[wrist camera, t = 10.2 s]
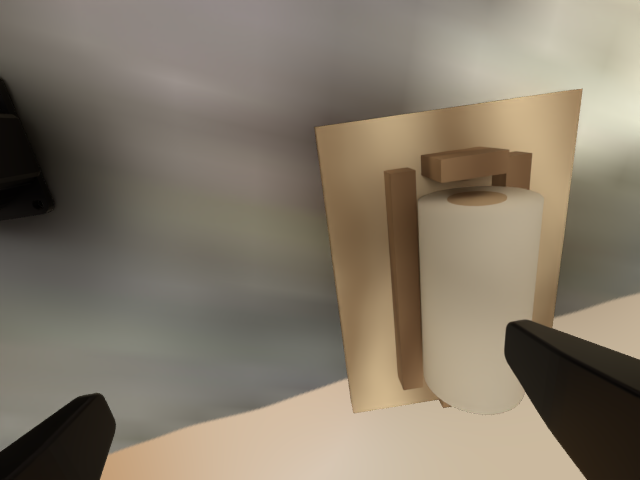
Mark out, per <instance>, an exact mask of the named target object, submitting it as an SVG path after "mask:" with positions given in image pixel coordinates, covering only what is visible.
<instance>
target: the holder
mask: <svg viewBox="0 0 640 480" xmlns="http://www.w3.org/2000/svg"><path fill="white" fill-rule="evenodd" d="M581 97H582V89H577V90H569V91H562V92H555V93H548V94H541V95H534V96H527V97H520V98H513V99H506V100H499V101H492V102H485V103H478V104H472V105H465V106H458V107H451V108H444V109H437V110H430V111H423V112H416V113H409V114H402V115H395V116H389V117H382V118H375V119H368V120H361V121H354V122H347V123H340V124H333V125H326V126H319V127H314V129H315V136H316V144H317V151H318V158H319V166H320V173H321V181H322V188H323V196H324V203H325V211H326V218H327V226H328V233H329V241H330V248H331V256H332V263H333V271H334V278H335V286H336V293H337V300H338V308H339V315H340V323H341V330H342V338H343V345H344V353H345V360H346V368H347V375H348V382H349V389H350V398H351V403H352V407H353V413H359V412H365V411H371V410H377V409H384V408H389V407H396V406H402V405H408V404H414V403H420V402H426V401H432V400H439V401H440V403H441V405H442V407H443V408H446V407H452V406H451V405H449V404H447V403H445V402H444V401H442V400H441V399H440V398H438V397H437V396H436V395H435V394H434V393H433V392H432V391H431V389H430V388H429V387H428V385H427V383H426V381H425V378H424V372H423V344H422V315H421V286H420V256H419V227H418V200H419V199H420V198H421V197H423V196H424V195H427V194H429V193H432V192H436V191H440V190H445V189H452V188H459V187H470V186H505V187H515V188H522V189H527V190H531V191H534V192H537V193H539V194H541V195H542V196H543V197H544V204H543V214H542V224H541V234H540V244H539V254H538V264H537V274H536V284H535V294H534V304H533V314H532V321H533V322H536V323H539V324H542V325H545V326H547V327H550V328H552V326H553V318H554V310H555V303H556V295H557V287H558V279H559V271H560V263H561V255H562V247H563V239H564V232H565V224H566V216H567V208H568V200H569V192H570V184H571V176H572V168H573V160H574V153H575V145H576V137H577V129H578V121H579V113H580V105H581Z"/></svg>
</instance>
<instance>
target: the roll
mask: <svg viewBox="0 0 640 480" xmlns="http://www.w3.org/2000/svg"><path fill="white" fill-rule="evenodd" d="M543 204H544V197H543V196H542V195H541V194H539V193H537V192H534V191H531V190H527V189H522V188H515V187H505V186H470V187H459V188H452V189H445V190H440V191H436V192H432V193H429V194H427V195H424V196H423V197H421V198H420V199H419V200H418V227H419V256H420V286H421V315H422V344H423V372H424V378H425V381H426V383H427V385H428V387H429V388H430V389H431V391H432V392H433V393H434V394H435V395H436V396H437V397H438V398H440V399H441V400H442V401H444V402H445V403H447V404H449V405H451V406H453V407H455V408H457V409H460V410H462V411H466V412H469V413H474V414H482V415H494V414H500V413H504V412H507V411H509V410H512V409H513V408H515V407H516V406H517V405H518V404H519V403H520V402H521V401H522V399H523V396H524V392H525V390H524V389H523V387H522V386H521V384H520V382H519V381H518V379H517V378H516V376H515V374H514V373H513V371H512V370H511V368H510V366H509V365H508V363H507V361H506V359H505V355H504V344H505V332H506V326H507V324H508V323H509V322H511V321H517V320H523V319H527V320H531V321H532V314H533V304H534V294H535V284H536V274H537V264H538V254H539V244H540V234H541V224H542V214H543Z"/></svg>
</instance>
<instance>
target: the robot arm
mask: <svg viewBox="0 0 640 480" xmlns="http://www.w3.org/2000/svg"><path fill="white" fill-rule="evenodd" d="M38 201H41V202H42V203H43V207H41V206H40V205H39V203H38ZM53 209H54V201H53V199H52V197H51V194H50V192H49V190H48V187H47V185H46V183H45V180H44V178H43V175H42V173H41V170H40V167H39V165H38V162H37V160H36V158H35V155H34V153H33V150H32V148H31V146H30V143H29V141H28V139H27V136H26V134H25V131H24V129H23V127H22V124H21V122H20V120H19V119H18V116H17V114H16V112H15V109H14V107H13V104H12V102H11V100H10V97H9V95H8V93H7V90H6V88H5V86H4V83H3V82H2V80H1V79H0V220H7V219H14V218H21V217H27V216H34V215H41V214H44V213H47V212H50V211H52V210H53ZM504 355H505V359H506V361H507V363H508V365H509V366H510V368H511V370H512V371H513V373H514V374H515V376H516V378H517V379H518V381H519V382H520V384H521V386H522V387H523V389H524V390H525V392H526V394H527V395H528V397H529V398H530V400H531V402H532V403H533V405H534V406H535V408H536V410H537V411H538V413H539V414H540V416H541V418H542V419H543V421H544V422H545V424H546V425H547V427H548V428H549V429H550V431H551V432H552V434H553V435H554V437H555V438H556V439H557V440H558V442H559V443H560V445H561V446H562V447H563V449H564V450H565V451H566V452H567V454H568V455H569V456H570V458H571V459H572V461H573V462H574V463H575V464H576V466H577V467H578V468H579V469H580V471H581V472H582V474H583V475H584V476H585V478H586V479H587V480H640V360H639V359H636V358H633V357H631V356H628V355H625V354H622V353H619V352H617V351H614V350H611V349H608V348H606V347H603V346H600V345H597V344H595V343H592V342H589V341H586V340H583V339H581V338H578V337H575V336H572V335H570V334H567V333H564V332H561V331H558V330H555V329H553V328H550V327H547V326H545V325H542V324H539V323H536V322H533V321H531V320H527V319H523V320H517V321H511V322H509V323H508V324H507V326H506V332H505V344H504ZM115 429H116V423H115V419H114V417H113V415H112V413H111V410H110V408H109V406H108V404H107V402H106V400H105V398H104V396H103V395H102V394H100V393H94V394H88V395H82V396H79V397H77V398H75V399H74V400H72V401H71V402H70V403H68V404H67V405H65V406H64V407H63V408H61V409H60V410H58V411H57V412H56V413H54V414H53V415H51V416H50V417H48V418H47V419H46V420H44V421H43V422H41V423H40V424H39V425H37V426H36V427H34V428H33V429H32V430H30V431H29V432H27V433H26V434H25V435H23V436H22V437H20V438H19V439H18V440H16V441H15V442H13V443H12V444H11V445H9V446H8V447H6V448H5V449H4V450H2V451H1V452H0V480H100V477H101V474H102V471H103V468H104V465H105V462H106V459H107V456H108V453H109V450H110V446H111V443H112V440H113V437H114V434H115Z"/></svg>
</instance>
